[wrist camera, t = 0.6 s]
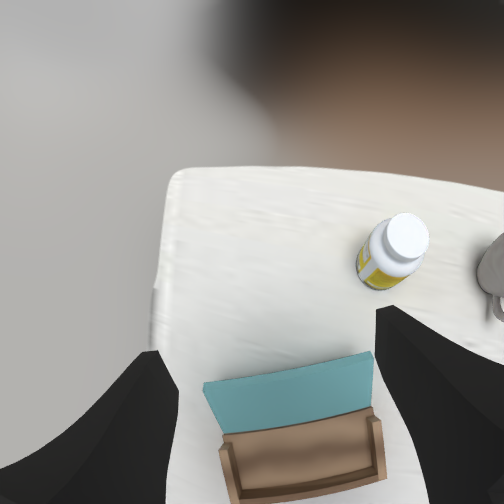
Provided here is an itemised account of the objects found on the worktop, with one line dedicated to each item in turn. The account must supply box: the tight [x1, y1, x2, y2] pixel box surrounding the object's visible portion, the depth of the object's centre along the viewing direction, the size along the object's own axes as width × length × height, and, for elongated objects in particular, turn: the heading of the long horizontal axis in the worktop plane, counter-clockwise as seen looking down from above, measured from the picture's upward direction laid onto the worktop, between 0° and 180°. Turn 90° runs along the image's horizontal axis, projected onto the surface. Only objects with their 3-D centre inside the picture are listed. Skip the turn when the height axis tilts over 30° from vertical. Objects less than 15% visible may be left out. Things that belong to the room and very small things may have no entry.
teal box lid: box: [203, 351, 374, 433], centre depth 30 cm, size 1×17×8 cm
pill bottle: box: [356, 213, 429, 290], centre depth 32 cm, size 6×6×12 cm
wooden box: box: [218, 406, 387, 504], centre depth 29 cm, size 9×18×5 cm, turn 100°
